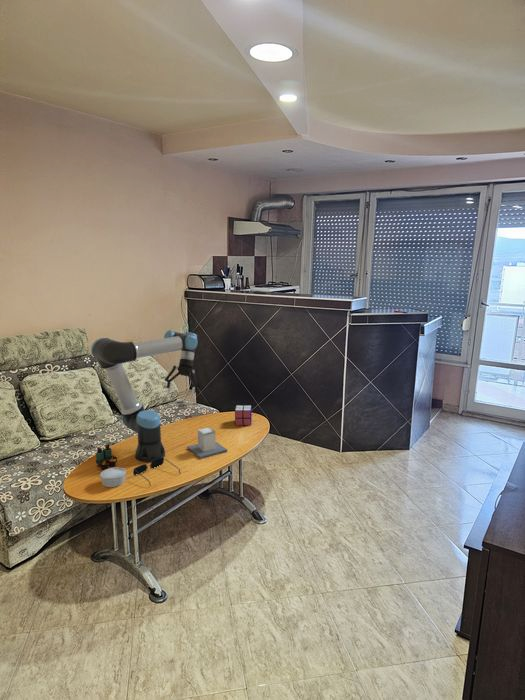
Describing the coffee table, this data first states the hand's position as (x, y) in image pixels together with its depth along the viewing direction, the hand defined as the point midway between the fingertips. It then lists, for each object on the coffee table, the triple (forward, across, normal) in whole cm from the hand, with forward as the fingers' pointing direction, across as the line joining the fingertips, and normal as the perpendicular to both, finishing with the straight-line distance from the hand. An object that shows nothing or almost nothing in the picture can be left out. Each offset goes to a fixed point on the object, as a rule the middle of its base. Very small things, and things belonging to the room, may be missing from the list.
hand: (180, 396), depth 244 cm
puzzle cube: (+9, -48, -17) cm, 51 cm away
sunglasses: (+41, +11, +26) cm, 50 cm away
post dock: (+27, -17, +10) cm, 33 cm away
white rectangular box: (+26, -16, +11) cm, 32 cm away
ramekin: (+46, +30, +24) cm, 60 cm away
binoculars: (+41, +32, +7) cm, 52 cm away
